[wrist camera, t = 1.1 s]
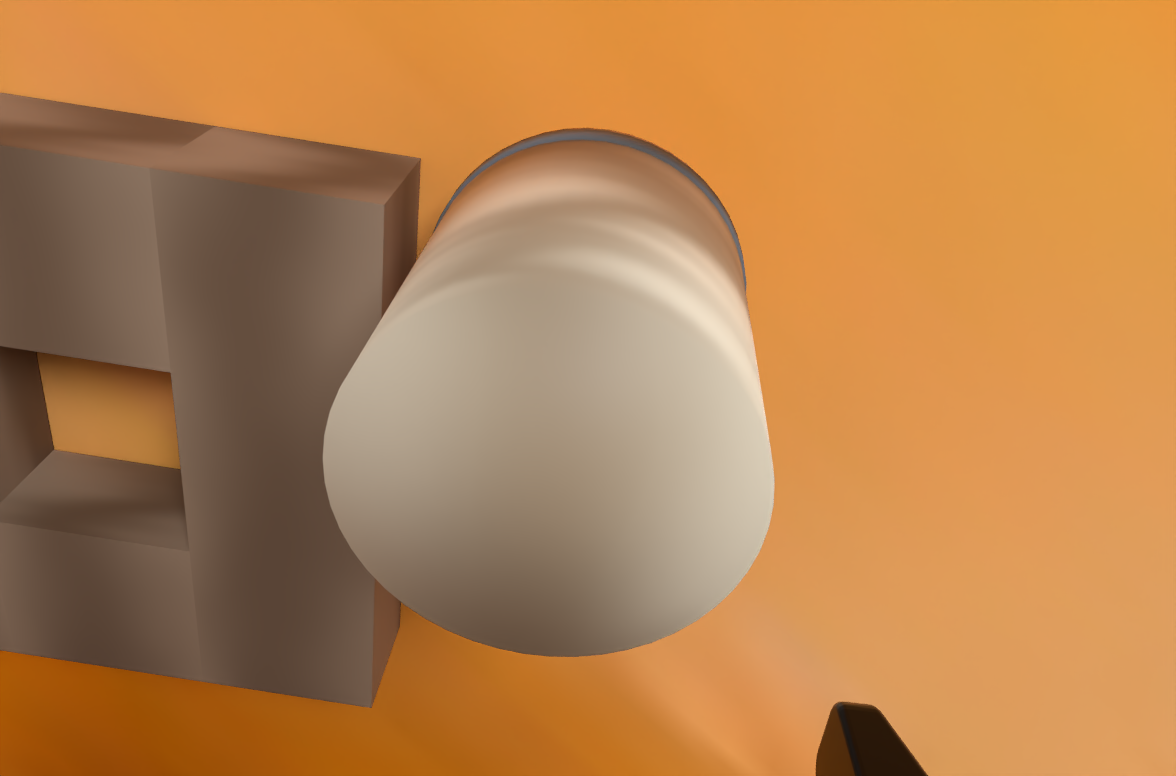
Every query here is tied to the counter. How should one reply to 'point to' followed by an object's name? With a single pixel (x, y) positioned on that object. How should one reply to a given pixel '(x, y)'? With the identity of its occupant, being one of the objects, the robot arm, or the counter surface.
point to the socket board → (193, 394)
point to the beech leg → (561, 406)
